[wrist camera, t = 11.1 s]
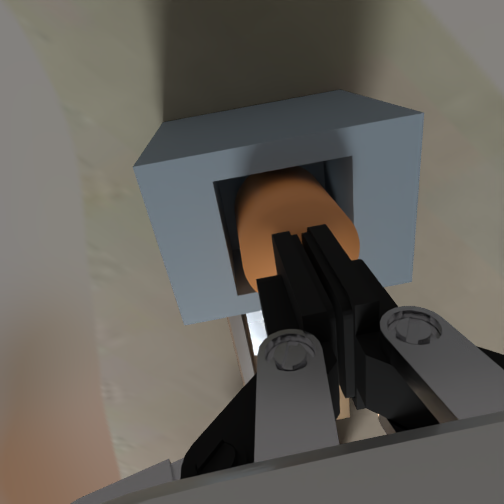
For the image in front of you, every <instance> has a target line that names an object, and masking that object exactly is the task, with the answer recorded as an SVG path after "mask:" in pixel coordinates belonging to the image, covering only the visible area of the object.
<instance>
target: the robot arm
mask: <svg viewBox="0 0 504 504" xmlns="http://www.w3.org/2000/svg"><path fill="white" fill-rule="evenodd" d="M301 237H302V243H301V241H300V239H299V237H298V235H297V234H294V235H291V233H290V232H289V231H286V232H280V233H275V234H272V244H273V250H274V257H275V264H276V271H277V275H275V276H270V277H264V278H259V279H256V283H257V289H258V294H259V299H260V305H261V310H262V315H263V320H264V325H265V330H266V334H267V338H266V339H264V340H263V342H262V343H261V345H260V346H259V350H258V354H257V372H256V374H255V375H254V376H253V377H252V378H251V379H250V380H249V381H248V383H247V384H246V385H245V386H244V387H243V388H242V389H241V390H240V392H239V393H238V394H237V395H236V396H235V397H234V398H233V400H232V401H231V402H230V403H229V404H228V405H227V406H226V407H225V409H224V410H223V411H222V412H221V413H220V414H219V415H218V416H217V418H216V419H215V420H214V421H213V422H212V423H211V424H210V425H209V427H208V428H207V429H206V430H205V431H204V432H203V433H202V434H201V436H200V437H199V438H198V439H197V440H196V441H195V442H194V443H193V445H192V446H191V447H190V449H189V450H188V452H187V453H186V455H185V457H184V458H182V459H180V460H178V461H176V462H173V463H171V462H170V460H169V459H167V460H165V461H163V462H161V463H158V464H156V465H154V466H151V467H149V468H147V469H145V470H142V471H140V472H138V473H136V474H133V475H131V476H129V477H127V478H124V479H122V480H120V481H118V482H115V483H113V484H111V485H109V486H106V487H104V488H102V489H99V490H97V491H95V492H93V493H90V494H88V495H86V496H83V497H81V498H79V499H77V500H76V501H74V502H73V503H71V504H504V355H502V354H499V353H496V352H493V351H490V350H487V349H483V348H480V347H477V346H475V345H474V344H473V343H472V342H470V341H469V340H468V339H467V338H466V337H465V336H463V335H462V334H461V333H460V332H459V331H457V330H456V329H455V328H454V327H453V326H452V325H450V324H449V323H448V322H447V321H446V320H445V319H443V318H442V317H441V316H439V315H438V314H436V313H435V312H433V311H430V310H428V309H425V308H421V307H416V306H402V307H398V306H397V305H396V303H395V302H394V301H393V299H392V298H391V297H390V295H389V294H388V293H387V291H386V290H385V289H384V287H383V286H382V285H381V283H380V282H379V281H378V279H377V278H376V277H375V275H374V274H373V273H372V272H371V270H370V269H369V268H368V266H367V265H366V264H365V262H364V261H363V260H362V259H357V260H351V259H350V258H349V256H348V255H347V253H346V252H345V251H344V249H343V248H342V246H341V245H340V243H339V242H338V241H337V239H336V238H335V236H334V235H333V233H332V232H331V231H330V229H329V228H328V226H327V225H326V224H322V225H317V226H312V227H307V232H305V233H302V234H301ZM339 385H340V388H341V390H342V393H343V395H344V397H345V398H351V397H352V399H353V402H354V404H355V406H356V409H357V410H359V409H364V408H367V409H369V410H371V411H373V412H375V413H377V414H378V420H379V422H380V424H381V426H382V428H383V429H384V431H385V432H386V434H387V435H383V436H379V437H374V438H369V439H364V440H359V441H355V442H350V443H345V444H340V445H339V439H338V434H337V428H336V423H335V421H336V419H337V418H338V416H339V414H340V390H339Z"/></svg>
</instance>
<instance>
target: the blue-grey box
mask: <svg viewBox="0 0 504 504" xmlns="http://www.w3.org/2000/svg"><path fill="white" fill-rule="evenodd" d="M423 121H424V113H423V112H419V111H416V110H412V109H408V108H405V107H401V106H398V105H394V104H390V103H387V102H383V101H380V100H376V99H372V98H369V97H365V96H362V95H358V94H354V93H351V92H347V91H344V90H335V91H330V92H325V93H319V94H314V95H308V96H303V97H297V98H292V99H287V100H281V101H276V102H270V103H265V104H259V105H254V106H249V107H243V108H238V109H232V110H227V111H221V112H216V113H211V114H205V115H200V116H194V117H189V118H183V119H178V120H173V121H167V122H163V123H162V124H161V126H160V127H159V129H158V130H157V132H156V133H155V135H154V136H153V138H152V139H151V141H150V142H149V144H148V145H147V147H146V148H145V150H144V151H143V153H142V154H141V156H140V157H139V159H138V160H137V162H136V163H135V164H134V166H133V169H134V172H135V175H136V178H137V181H138V184H139V187H140V191H141V194H142V197H143V200H144V203H145V206H146V209H147V212H148V215H149V218H150V221H151V224H152V227H153V230H154V233H155V236H156V240H157V243H158V246H159V249H160V252H161V255H162V258H163V261H164V264H165V267H166V270H167V273H168V276H169V279H170V282H171V285H172V289H173V292H174V295H175V298H176V301H177V304H178V307H179V310H180V313H181V316H182V319H183V322H184V325H189V324H194V323H200V322H205V321H210V320H215V319H220V318H226V317H231V316H236V315H241V314H246V313H252V312H257V311H262V310H261V305H260V299H259V294H258V293H257V292H256V291H255V290H254V289H253V288H252V286H251V285H250V284H249V282H248V280H247V278H246V276H245V273H244V270H243V264H242V258H241V251H240V245H239V239H238V232H237V226H236V219H235V212H234V204H235V198H236V195H237V192H238V190H239V188H240V186H241V185H242V183H243V182H244V181H245V180H246V178H247V177H248V176H250V175H251V174H256V173H262V172H267V171H272V170H278V169H283V168H288V167H294V166H300V167H302V168H304V169H306V170H307V171H308V172H310V173H311V174H312V175H313V176H314V177H315V179H316V180H317V181H318V182H319V183H320V184H321V186H322V187H323V188H324V189H325V190H326V192H327V193H328V194H329V195H330V196H331V197H332V199H333V200H334V201H335V202H336V203H337V205H338V206H339V207H340V208H341V209H342V210H343V212H344V213H345V214H346V215H347V216H348V218H349V219H350V220H351V221H352V223H353V224H354V226H355V228H356V230H357V233H358V236H359V242H360V252H359V258H358V259H362V260H363V261H364V262H365V264H366V265H367V266H368V268H369V269H370V270H371V272H372V273H373V274H374V275H375V277H376V278H377V279H378V281H379V282H380V283H381V285H382V286H383V287H387V286H392V285H398V284H403V283H408V282H412V271H413V257H414V244H415V230H416V217H417V203H418V189H419V176H420V162H421V148H422V135H423Z"/></svg>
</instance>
